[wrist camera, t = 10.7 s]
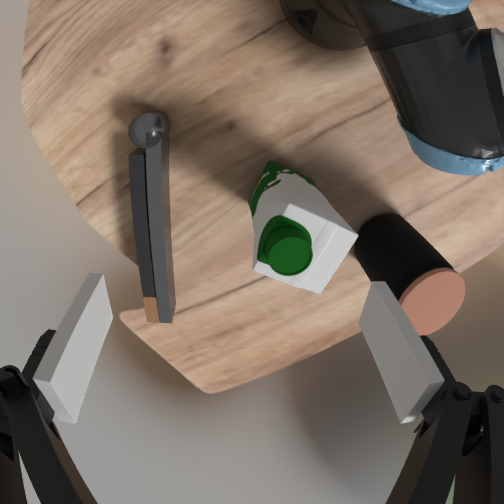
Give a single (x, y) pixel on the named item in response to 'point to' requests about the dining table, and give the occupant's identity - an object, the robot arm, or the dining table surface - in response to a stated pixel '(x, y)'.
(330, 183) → the dining table surface
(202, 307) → the dining table surface
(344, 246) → the milk carton
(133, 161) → the arm
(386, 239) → the coffee jar
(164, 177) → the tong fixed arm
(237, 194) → the dining table surface
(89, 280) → the robot arm
